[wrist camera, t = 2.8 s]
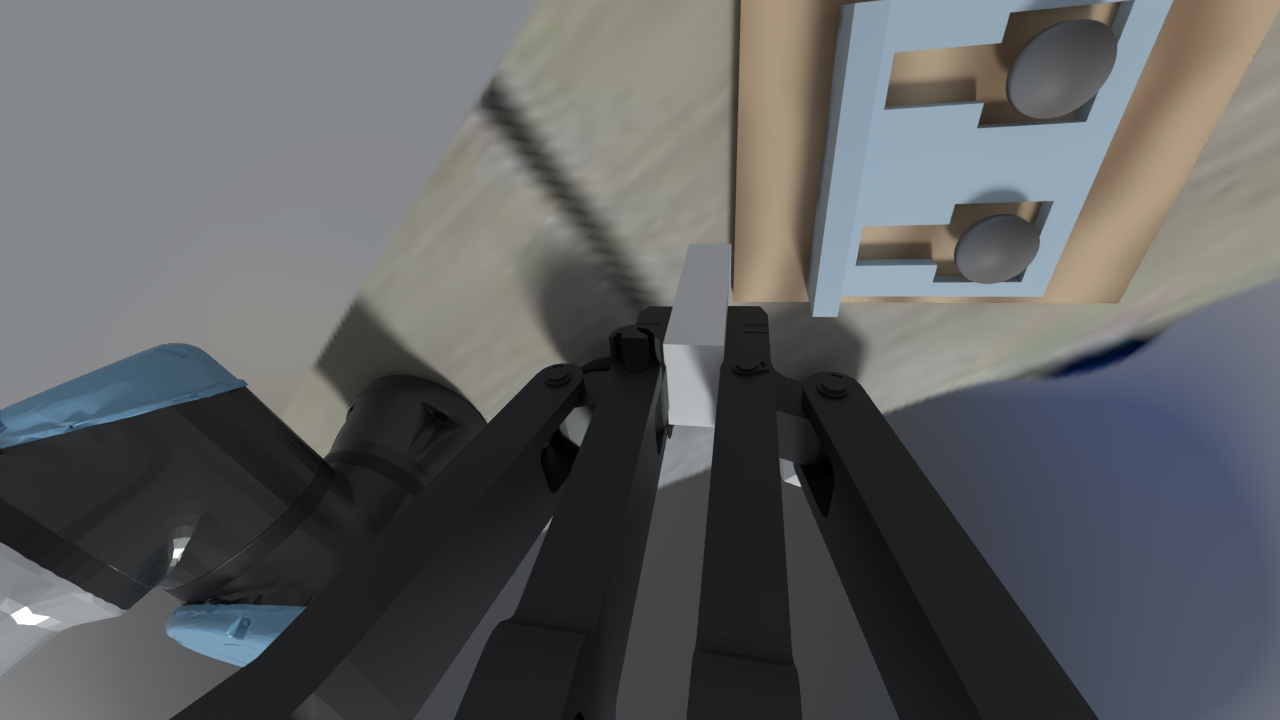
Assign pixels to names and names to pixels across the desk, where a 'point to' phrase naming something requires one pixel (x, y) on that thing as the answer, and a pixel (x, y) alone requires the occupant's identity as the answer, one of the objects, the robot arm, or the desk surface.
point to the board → (1011, 92)
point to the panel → (951, 148)
